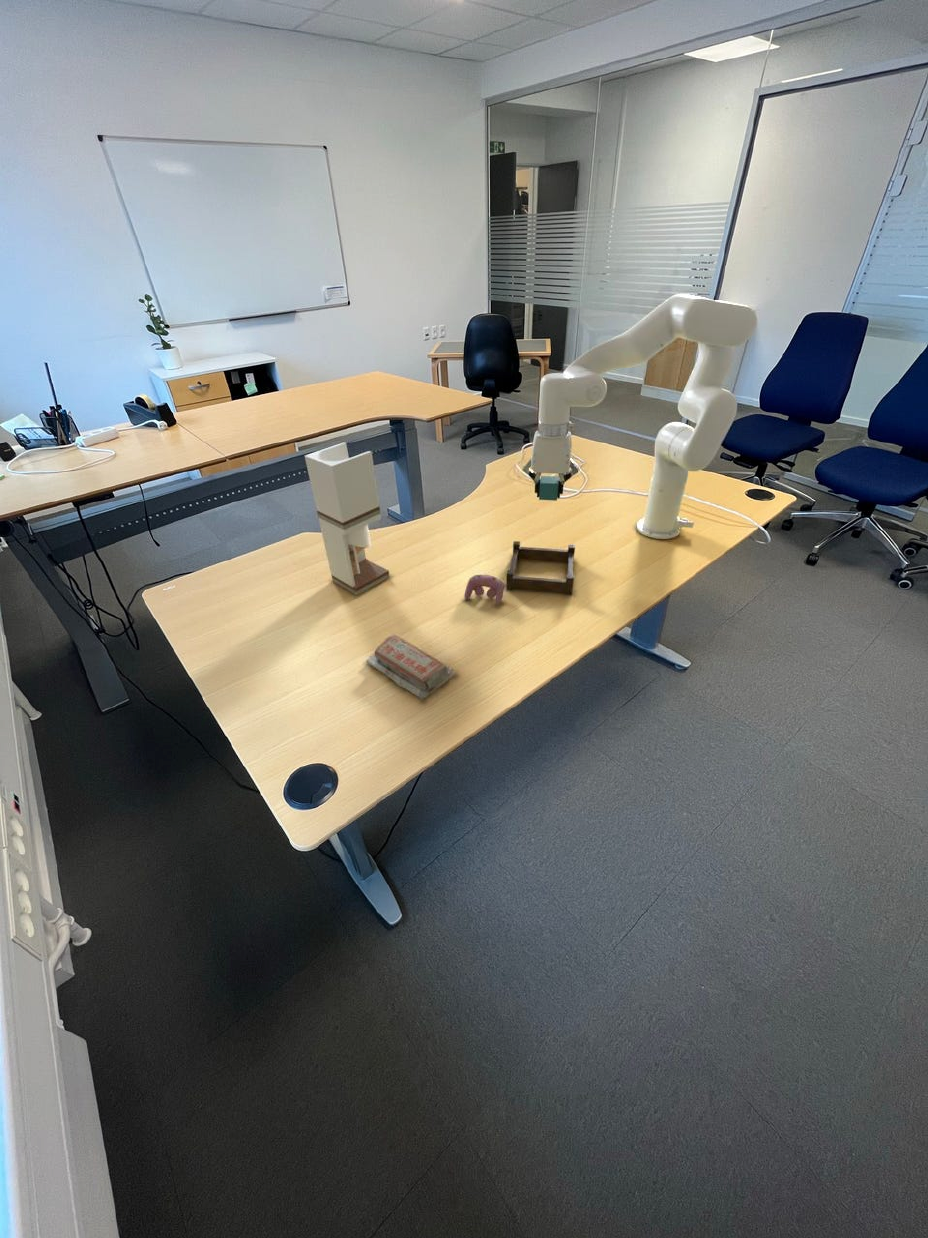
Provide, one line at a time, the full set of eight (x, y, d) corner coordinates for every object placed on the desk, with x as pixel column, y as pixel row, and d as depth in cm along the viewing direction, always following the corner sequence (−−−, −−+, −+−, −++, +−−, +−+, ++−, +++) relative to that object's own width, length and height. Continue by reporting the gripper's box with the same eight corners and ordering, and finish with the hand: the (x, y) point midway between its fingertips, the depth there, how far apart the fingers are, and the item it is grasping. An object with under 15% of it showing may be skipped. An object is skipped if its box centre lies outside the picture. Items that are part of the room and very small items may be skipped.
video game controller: (503, 604, 134) (507, 577, 132) (499, 606, 129) (503, 579, 128) (467, 597, 136) (470, 571, 135) (462, 600, 132) (465, 573, 130)
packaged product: (454, 659, 108) (420, 685, 102) (455, 675, 111) (422, 702, 105) (396, 625, 118) (362, 647, 112) (399, 641, 121) (366, 663, 115)
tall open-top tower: (356, 595, 136) (331, 466, 115) (332, 580, 142) (304, 455, 121) (389, 576, 143) (371, 451, 121) (365, 563, 148) (343, 442, 127)
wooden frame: (573, 560, 146) (575, 544, 143) (571, 594, 133) (573, 578, 130) (513, 556, 149) (513, 541, 146) (506, 589, 136) (506, 573, 133)
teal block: (557, 493, 143) (559, 476, 140) (557, 500, 139) (558, 483, 136) (540, 492, 143) (541, 475, 140) (539, 499, 140) (540, 483, 137)
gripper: (587, 423, 131) (580, 491, 143) (520, 422, 134) (518, 488, 145) (587, 433, 126) (580, 503, 137) (517, 432, 128) (515, 500, 140)
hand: (548, 495), depth 141 cm, fingers closed on teal block, 4 cm apart
